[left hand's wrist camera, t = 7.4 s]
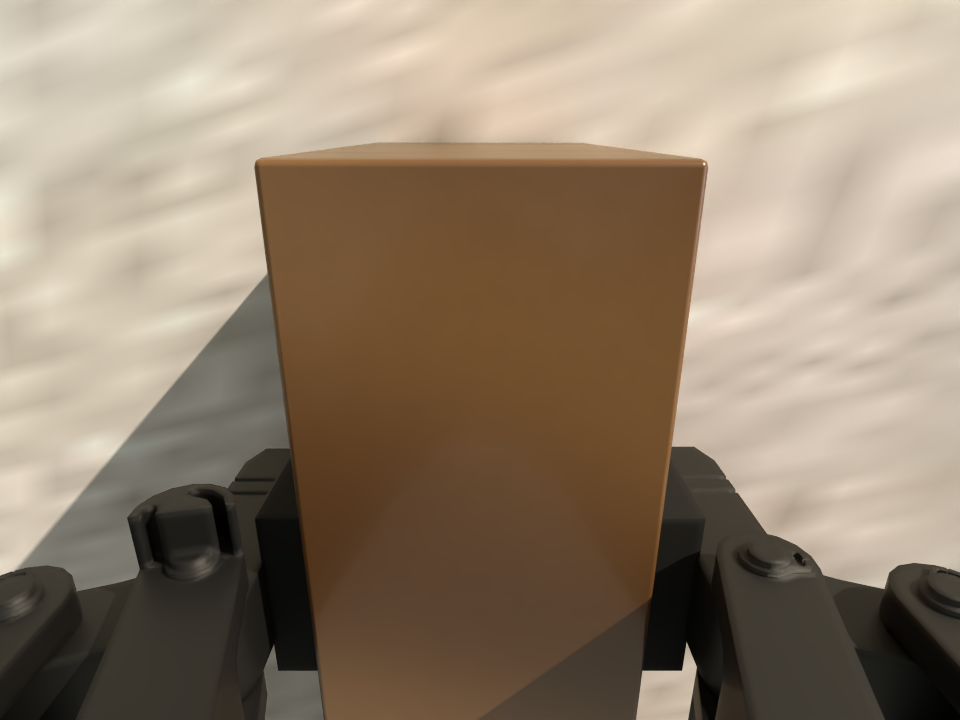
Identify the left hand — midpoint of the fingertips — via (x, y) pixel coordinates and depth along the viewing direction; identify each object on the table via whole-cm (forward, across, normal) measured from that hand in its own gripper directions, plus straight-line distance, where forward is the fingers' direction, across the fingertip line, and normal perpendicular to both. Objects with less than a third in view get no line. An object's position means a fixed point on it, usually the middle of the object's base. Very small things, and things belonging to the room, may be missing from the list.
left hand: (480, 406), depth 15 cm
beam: (+1, 0, -30) cm, 30 cm away
